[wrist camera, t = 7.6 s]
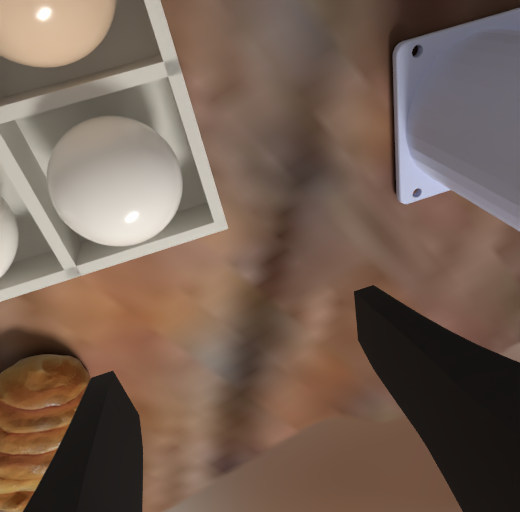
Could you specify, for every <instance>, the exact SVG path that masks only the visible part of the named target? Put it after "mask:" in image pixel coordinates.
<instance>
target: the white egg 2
mask: <svg viewBox="0 0 520 512" xmlns="http://www.w3.org/2000/svg"><path fill="white" fill-rule="evenodd" d="M47 187H48V193H49V196H50V199H51V202H52V204H53V206H54V208H55V210H56V211H57V213H58V215H59V216H60V218H61V219H62V220H63V221H64V222H65V223H66V224H67V225H68V226H69V227H70V228H71V229H72V230H73V231H75V232H76V233H78V234H79V235H81V236H82V237H84V238H86V239H88V240H90V241H93V242H96V243H99V244H103V245H108V246H129V245H134V244H138V243H141V242H143V241H146V240H148V239H150V238H152V237H154V236H155V235H157V234H158V233H160V232H161V231H162V230H163V229H164V228H165V227H166V226H167V225H168V224H169V222H170V221H171V220H172V218H173V217H174V215H175V214H176V211H177V209H178V207H179V204H180V201H181V197H182V190H183V180H182V172H181V168H180V164H179V162H178V159H177V157H176V155H175V153H174V151H173V150H172V148H171V147H170V145H169V144H168V143H167V141H166V140H165V139H164V138H163V137H162V136H161V135H160V134H159V133H157V132H156V131H155V130H154V129H152V128H151V127H149V126H147V125H146V124H144V123H142V122H139V121H137V120H134V119H131V118H128V117H122V116H111V115H109V116H100V117H95V118H91V119H88V120H85V121H83V122H81V123H79V124H77V125H75V126H74V127H72V128H71V129H70V130H68V131H67V132H66V133H65V134H64V135H63V136H62V137H61V139H60V140H59V141H58V143H57V144H56V145H55V147H54V149H53V151H52V153H51V156H50V159H49V162H48V167H47Z"/></svg>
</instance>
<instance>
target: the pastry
mask: <svg viewBox="0 0 520 512" xmlns="http://www.w3.org/2000/svg"><path fill="white" fill-rule="evenodd" d="M89 381H90V376H89V373H88V372H87V370H86V369H85V368H84V366H83V365H82V363H81V362H80V361H79V360H78V359H77V358H74V357H72V356H70V355H69V356H63V355H52V354H43V355H36V356H31V357H27V358H24V359H21V360H19V361H18V362H17V363H15V364H14V365H12V366H11V367H9V368H7V369H6V370H4V371H2V373H1V374H0V510H4V511H21V512H22V511H23V510H24V508H25V507H26V505H27V503H28V502H29V500H30V498H31V497H32V495H33V493H34V492H35V490H36V488H37V486H38V484H39V482H40V481H41V479H42V477H43V475H44V473H45V472H46V470H47V468H48V466H49V464H50V462H51V461H52V459H53V457H54V455H55V453H56V451H57V449H58V447H59V445H60V443H61V441H62V439H63V437H64V435H65V433H66V430H67V428H68V426H69V424H70V422H71V420H72V418H73V416H74V414H75V411H76V409H77V407H78V405H79V403H80V400H81V398H82V396H83V394H84V392H85V389H86V387H87V385H88V383H89Z"/></svg>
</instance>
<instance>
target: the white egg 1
mask: <svg viewBox="0 0 520 512" xmlns="http://www.w3.org/2000/svg"><path fill="white" fill-rule="evenodd" d="M18 241H19V237H18V226H17V222H16V219H15V217H14V214H13V212H12V210H11V208H10V206H9V205H8V203H7V202H6V201H5V199H4V198H3V197H2V196H1V195H0V278H1V277H2V276H3V275H4V274H5V273H6V271H7V270H8V269H9V267H10V265H11V264H12V262H13V260H14V258H15V255H16V251H17V248H18Z"/></svg>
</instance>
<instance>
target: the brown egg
mask: <svg viewBox="0 0 520 512" xmlns="http://www.w3.org/2000/svg"><path fill="white" fill-rule="evenodd" d="M115 8H116V0H0V56H2V57H4V58H6V59H8V60H10V61H13V62H16V63H19V64H23V65H28V66H32V67H43V68H47V67H59V66H64V65H67V64H70V63H73V62H76V61H78V60H80V59H82V58H84V57H85V56H87V55H88V54H90V53H91V52H92V51H93V50H94V49H95V48H96V47H97V46H98V45H99V44H100V43H101V42H102V40H103V39H104V37H105V36H106V34H107V32H108V30H109V28H110V26H111V23H112V20H113V17H114V13H115Z"/></svg>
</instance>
